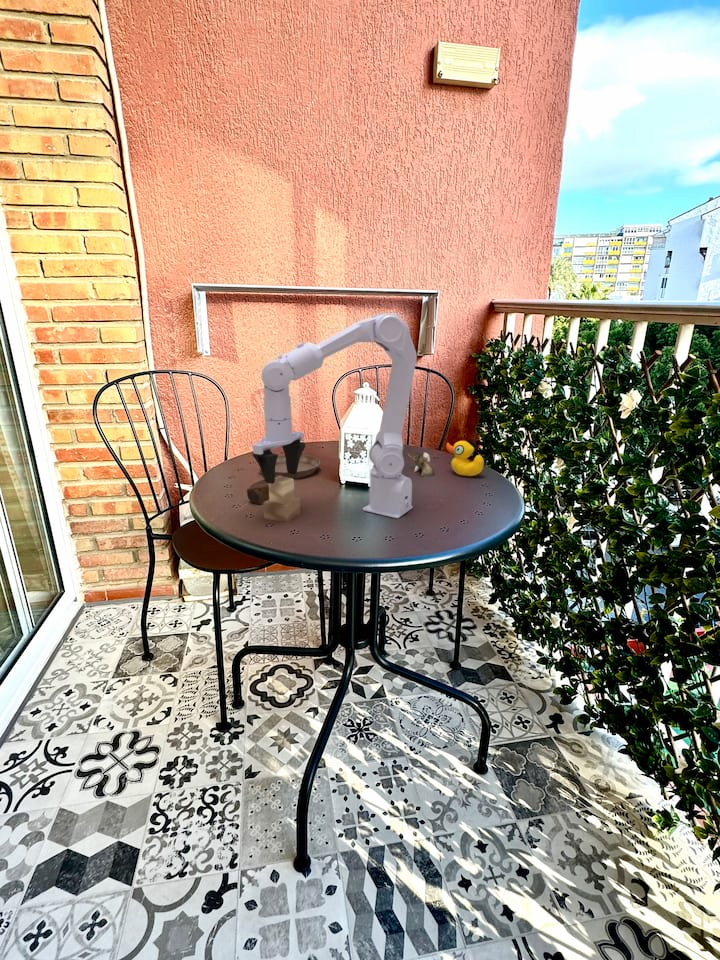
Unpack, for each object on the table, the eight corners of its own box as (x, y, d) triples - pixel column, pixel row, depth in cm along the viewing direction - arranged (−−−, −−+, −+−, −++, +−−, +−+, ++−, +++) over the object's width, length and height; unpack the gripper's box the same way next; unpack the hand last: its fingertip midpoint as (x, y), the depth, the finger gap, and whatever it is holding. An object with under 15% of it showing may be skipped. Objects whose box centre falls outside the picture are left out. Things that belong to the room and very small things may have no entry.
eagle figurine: (400, 465, 147) (410, 468, 138) (412, 444, 147) (423, 446, 138) (421, 477, 149) (432, 481, 140) (432, 457, 149) (444, 460, 140)
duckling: (441, 474, 143) (443, 440, 139) (448, 469, 147) (450, 437, 144) (478, 480, 137) (481, 446, 134) (485, 475, 141) (488, 442, 138)
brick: (276, 490, 129) (275, 473, 127) (288, 493, 127) (287, 476, 125) (247, 503, 121) (245, 485, 119) (259, 506, 118) (257, 488, 117)
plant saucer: (248, 478, 139) (247, 468, 138) (276, 461, 155) (275, 452, 154) (306, 484, 134) (306, 474, 133) (328, 466, 150) (328, 456, 149)
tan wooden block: (300, 513, 114) (299, 497, 113) (287, 523, 109) (286, 506, 108) (278, 510, 117) (277, 494, 115) (264, 519, 111) (263, 502, 110)
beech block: (294, 499, 112) (293, 478, 110) (283, 504, 109) (282, 483, 107) (281, 496, 114) (280, 475, 112) (269, 501, 111) (268, 480, 109)
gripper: (285, 410, 113) (288, 467, 118) (240, 422, 102) (245, 483, 106) (309, 414, 110) (311, 471, 114) (265, 425, 98) (269, 489, 102)
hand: (281, 478), depth 110 cm, fingers open, 7 cm apart
